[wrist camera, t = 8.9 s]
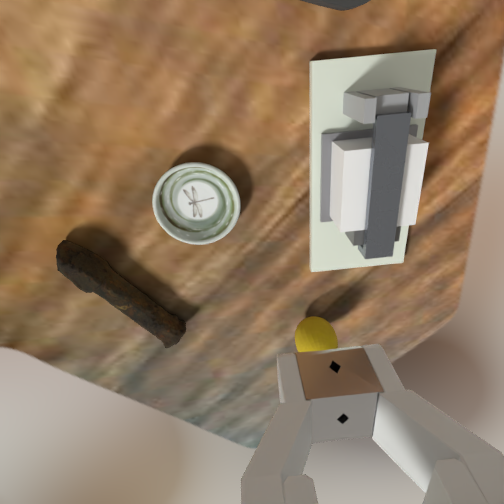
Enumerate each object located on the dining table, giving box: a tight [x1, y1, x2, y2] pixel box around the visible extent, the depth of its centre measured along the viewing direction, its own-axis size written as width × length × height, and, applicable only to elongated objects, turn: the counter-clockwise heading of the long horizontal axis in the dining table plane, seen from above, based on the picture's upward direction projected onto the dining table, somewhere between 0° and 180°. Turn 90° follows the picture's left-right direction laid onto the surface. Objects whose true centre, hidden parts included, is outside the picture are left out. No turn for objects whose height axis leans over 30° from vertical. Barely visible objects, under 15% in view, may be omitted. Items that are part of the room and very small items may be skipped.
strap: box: [358, 111, 412, 259], centre depth 35 cm, size 14×3×2 cm, turn 5°
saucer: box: [152, 162, 241, 245], centre depth 39 cm, size 10×10×2 cm
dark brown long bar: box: [56, 240, 186, 348], centre depth 44 cm, size 19×4×5 cm, turn 38°
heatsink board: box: [310, 49, 436, 272], centre depth 37 cm, size 24×12×7 cm, turn 5°
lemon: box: [295, 316, 338, 352], centre depth 47 cm, size 6×6×8 cm
